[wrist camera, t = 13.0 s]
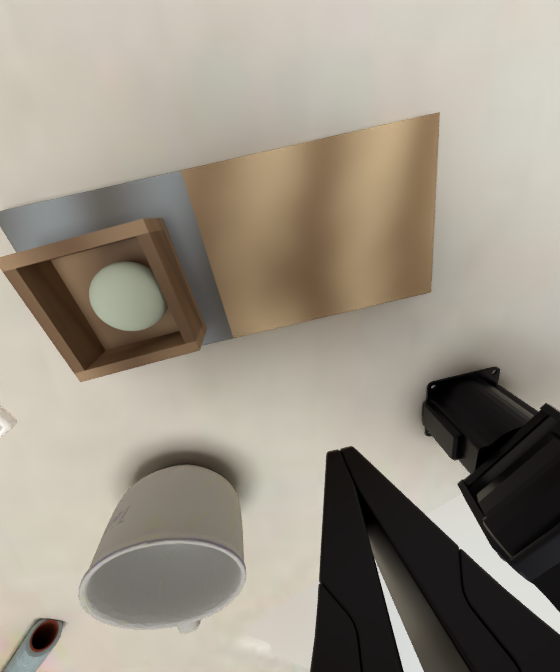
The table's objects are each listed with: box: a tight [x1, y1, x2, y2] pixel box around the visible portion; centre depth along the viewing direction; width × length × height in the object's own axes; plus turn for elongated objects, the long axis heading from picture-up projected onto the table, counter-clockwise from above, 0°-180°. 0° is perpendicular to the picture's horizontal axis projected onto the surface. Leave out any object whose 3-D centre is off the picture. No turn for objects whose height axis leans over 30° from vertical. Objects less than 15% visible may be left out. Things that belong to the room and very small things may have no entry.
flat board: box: [0, 112, 440, 346], centre depth 16 cm, size 24×10×1 cm, turn 102°
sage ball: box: [89, 261, 168, 331], centre depth 14 cm, size 4×4×4 cm
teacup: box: [78, 465, 246, 634], centre depth 22 cm, size 14×11×8 cm
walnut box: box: [0, 218, 207, 382], centre depth 15 cm, size 7×7×3 cm
